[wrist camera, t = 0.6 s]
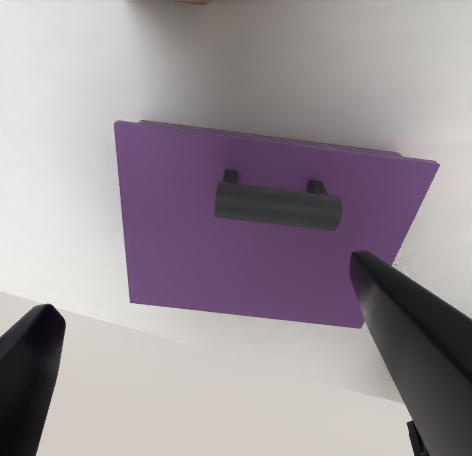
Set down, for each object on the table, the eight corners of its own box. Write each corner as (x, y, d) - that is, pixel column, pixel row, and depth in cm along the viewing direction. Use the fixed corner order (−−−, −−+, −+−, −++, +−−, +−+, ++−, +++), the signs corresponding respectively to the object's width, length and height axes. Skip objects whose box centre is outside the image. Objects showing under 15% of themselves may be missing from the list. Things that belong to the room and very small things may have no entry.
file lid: (117, 120, 16) (75, 144, 12) (435, 160, 16) (491, 196, 12) (132, 297, 22) (108, 349, 18) (358, 322, 23) (380, 378, 19)
